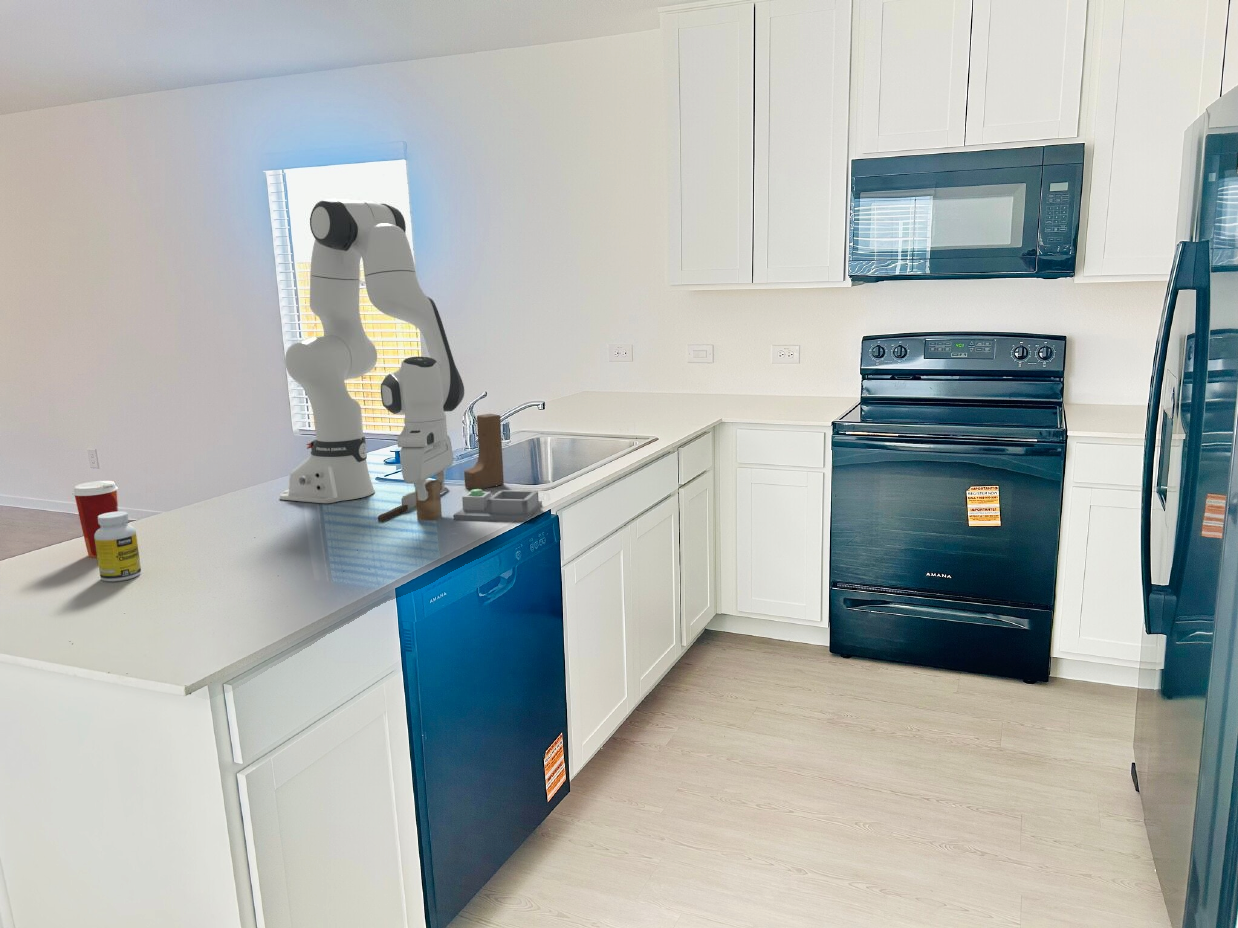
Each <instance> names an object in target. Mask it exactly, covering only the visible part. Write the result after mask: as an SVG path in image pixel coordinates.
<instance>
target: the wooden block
mask: <svg viewBox="0 0 1238 928" xmlns="http://www.w3.org/2000/svg"><path fill="white" fill-rule="evenodd" d="M476 426H477V428H476V429H477V444H478V455H477V456H478V457H477V461H476V463H475V464H474V465H473V467H471V468H470V467H469V468H467V469H465V470H464V473H463V474H464V477H463V478H464V487H465V488H466V489H469V490H470V491H471V490H474V489H481V490H484V489H488V488H493V487H497V486H496V485H500V486H503V485H504V483H505V480H504V463H503V446H502V443H503V441H502V424H501V415H499V414H494V413H485V414H479V415H476Z"/></svg>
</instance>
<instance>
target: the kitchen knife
mask: <svg viewBox="0 0 1238 928" xmlns="http://www.w3.org/2000/svg"><path fill="white" fill-rule="evenodd" d="M450 491H451V490H450V489H449V488H448V487H446V486H445V488H444V489H443V490H440V494H442V493H444V492H445V493H446V492H450ZM413 508H416V493H415V491H413V492H412V491H411V492H408V493H406V494H404V495H402V497H401V505H398V506H397V507H395V508H392V509H390V510H388V511H386V512H383V513H381V514H380V515H379V516H377V522H378V523H384V522H386V521H388V520H391V519H392V518H394V517H397V516H399V515H401V514H404V513H407V512H408V511H409V510H410V509H413Z"/></svg>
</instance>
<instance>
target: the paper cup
mask: <svg viewBox="0 0 1238 928" xmlns="http://www.w3.org/2000/svg"><path fill="white" fill-rule="evenodd" d="M117 490H119V487H118V486H117V485H116V483H115V481H113V480H97V481H88V482H84V483H83V482H82V483H80V484H77V485H75V486H74V488H73V492H72V496H74V497H75V503H76V508H77V511H78V517H79V521H80V526H81V529H82V535H83V538H84V543H85V548H86V552H87V555H88V557H89V558H91V557H92V559H97V552H96V545H95V538H94V535H95V533H96V531H97V530H98V529H100V528H101V526H100V525H99V524H98V516H99V515H101V514H104V513H109V512H117V511H119V505H118V493H117V492H118V491H117Z"/></svg>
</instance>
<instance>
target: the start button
mask: <svg viewBox="0 0 1238 928" xmlns="http://www.w3.org/2000/svg"><path fill="white" fill-rule="evenodd" d="M470 491H471V496H482V495H483V492H484V491H483V489H474V490H471V489H470Z"/></svg>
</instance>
